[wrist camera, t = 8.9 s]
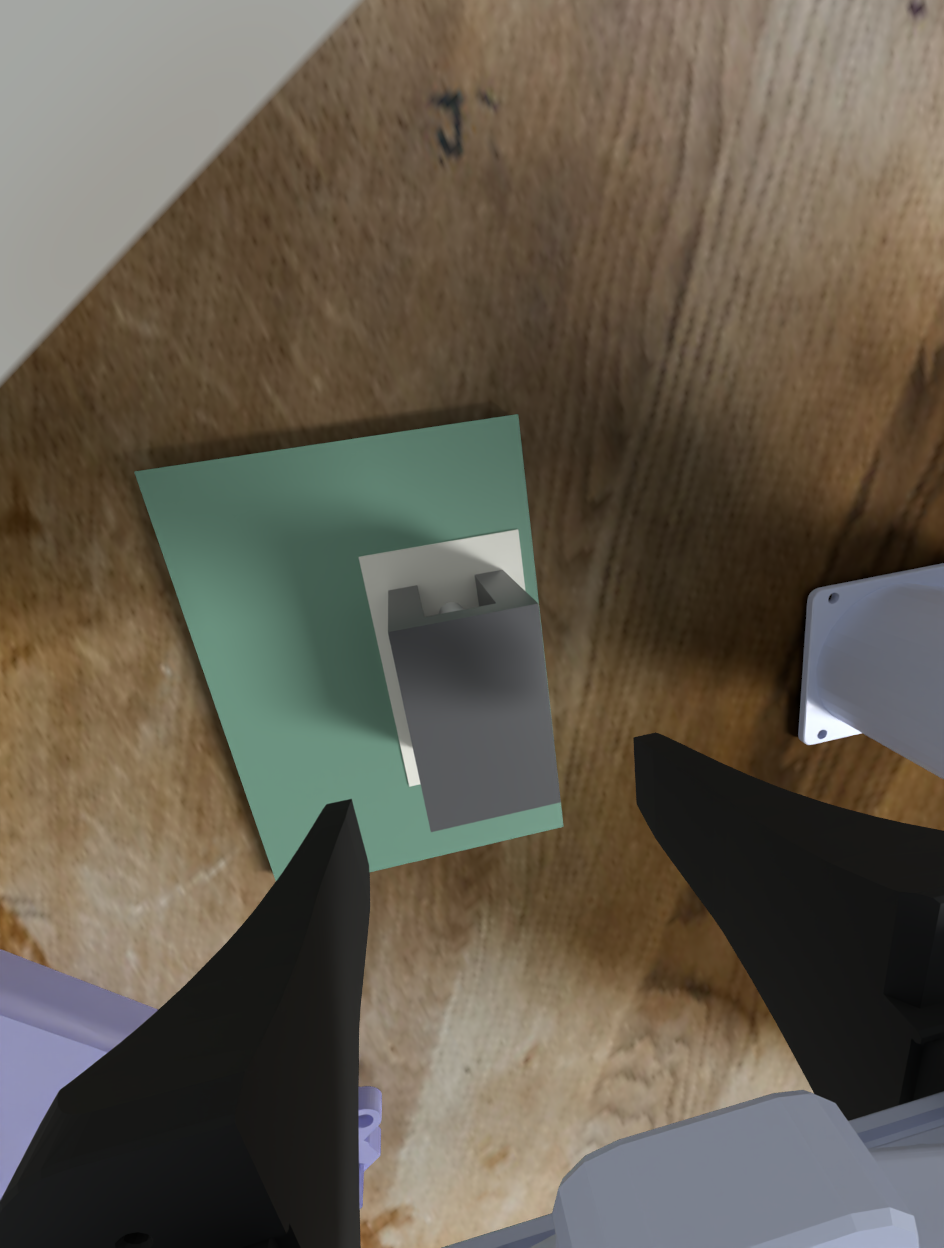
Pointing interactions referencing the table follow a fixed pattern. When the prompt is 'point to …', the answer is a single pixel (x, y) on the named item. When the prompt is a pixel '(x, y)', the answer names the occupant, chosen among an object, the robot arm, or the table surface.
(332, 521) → the header board
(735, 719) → the table surface
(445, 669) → the block
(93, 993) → the computer part
